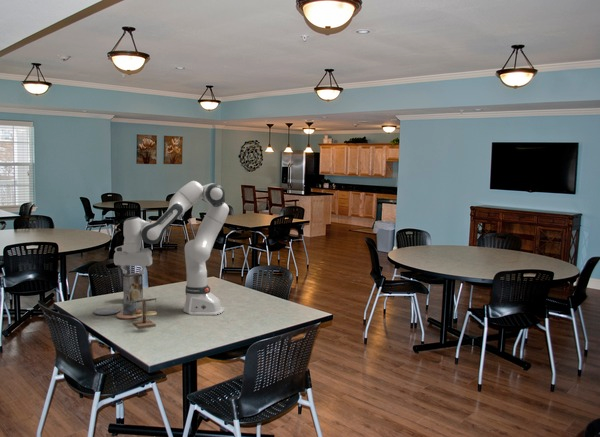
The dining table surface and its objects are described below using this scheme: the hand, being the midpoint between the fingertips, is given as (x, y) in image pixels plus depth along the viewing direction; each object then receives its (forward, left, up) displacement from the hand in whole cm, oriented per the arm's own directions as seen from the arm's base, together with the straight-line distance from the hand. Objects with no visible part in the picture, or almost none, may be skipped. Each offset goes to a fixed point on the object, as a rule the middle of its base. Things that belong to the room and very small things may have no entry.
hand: (133, 273), depth 274 cm
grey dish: (+16, -1, -22) cm, 27 cm away
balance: (-13, +16, -22) cm, 30 cm away
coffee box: (+13, -26, -23) cm, 37 cm away
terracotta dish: (+1, +3, -22) cm, 22 cm away
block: (+1, +3, -21) cm, 21 cm away
